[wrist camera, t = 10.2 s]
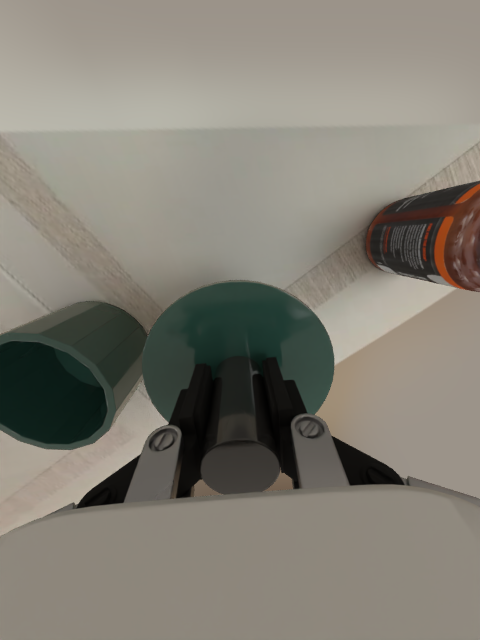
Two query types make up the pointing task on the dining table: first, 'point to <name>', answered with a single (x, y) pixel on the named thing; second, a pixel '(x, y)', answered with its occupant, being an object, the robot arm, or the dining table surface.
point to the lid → (237, 372)
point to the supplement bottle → (431, 237)
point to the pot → (69, 374)
